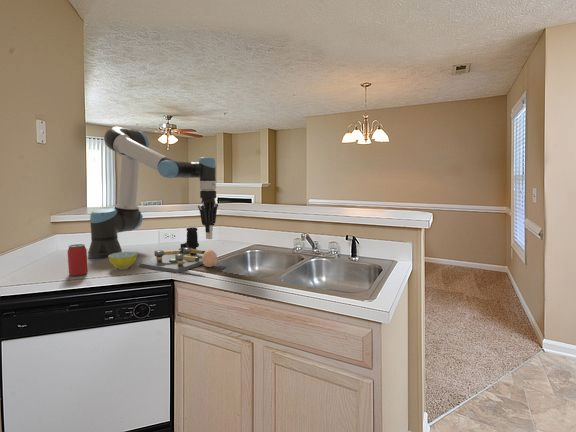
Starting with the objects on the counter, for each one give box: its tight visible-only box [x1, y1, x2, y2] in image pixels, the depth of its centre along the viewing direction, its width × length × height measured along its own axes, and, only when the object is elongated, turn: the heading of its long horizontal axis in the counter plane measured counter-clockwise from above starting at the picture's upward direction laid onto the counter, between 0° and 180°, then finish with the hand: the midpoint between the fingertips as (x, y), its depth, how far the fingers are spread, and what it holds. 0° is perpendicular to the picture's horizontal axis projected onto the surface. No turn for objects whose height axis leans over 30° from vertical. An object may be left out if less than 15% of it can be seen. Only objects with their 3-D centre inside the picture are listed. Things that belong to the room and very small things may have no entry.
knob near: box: [153, 249, 183, 262], centre depth 155 cm, size 12×4×5 cm, turn 111°
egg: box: [201, 249, 218, 268], centre depth 152 cm, size 7×7×8 cm
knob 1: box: [183, 247, 206, 256], centre depth 159 cm, size 12×4×5 cm, turn 66°
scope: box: [178, 227, 200, 256], centre depth 176 cm, size 8×14×10 cm
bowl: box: [107, 251, 138, 271], centre depth 148 cm, size 11×12×6 cm
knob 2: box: [174, 254, 200, 266], centre depth 146 cm, size 12×4×5 cm, turn 66°
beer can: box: [67, 243, 89, 277], centre depth 137 cm, size 7×7×12 cm
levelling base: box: [138, 254, 204, 274], centre depth 155 cm, size 22×20×2 cm
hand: (209, 238), depth 163 cm, fingers closed
